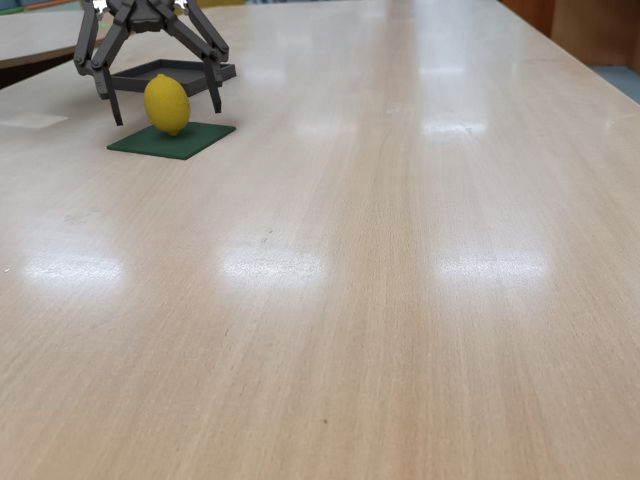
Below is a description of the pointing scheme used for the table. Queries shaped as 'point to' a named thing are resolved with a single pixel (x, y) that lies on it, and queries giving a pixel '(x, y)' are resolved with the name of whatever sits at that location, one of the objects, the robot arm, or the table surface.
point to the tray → (168, 75)
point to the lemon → (166, 104)
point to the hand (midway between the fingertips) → (170, 114)
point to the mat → (172, 140)
